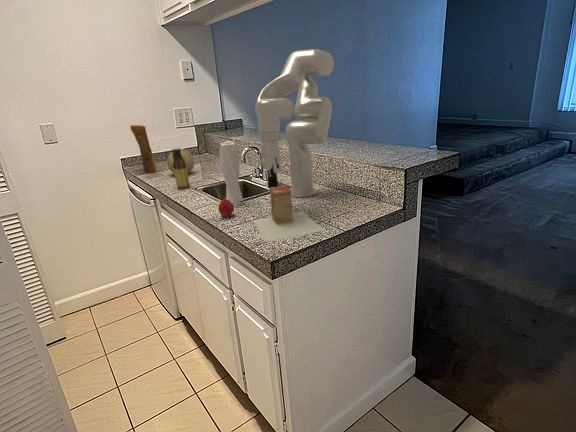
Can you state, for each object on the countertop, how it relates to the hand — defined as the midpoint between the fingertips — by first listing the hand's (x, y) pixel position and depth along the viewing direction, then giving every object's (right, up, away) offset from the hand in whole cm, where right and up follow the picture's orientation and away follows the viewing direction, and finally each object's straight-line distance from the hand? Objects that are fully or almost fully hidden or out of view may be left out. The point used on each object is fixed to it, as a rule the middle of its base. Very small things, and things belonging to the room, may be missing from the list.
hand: (273, 186), depth 133 cm
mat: (+5, -15, -7) cm, 17 cm away
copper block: (+4, -13, -3) cm, 13 cm away
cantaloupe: (-55, +13, +75) cm, 94 cm away
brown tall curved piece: (-80, +16, +87) cm, 119 cm away
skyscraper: (-17, -6, +21) cm, 27 cm away
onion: (-18, -12, +5) cm, 22 cm away
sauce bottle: (-47, +3, +48) cm, 67 cm away
